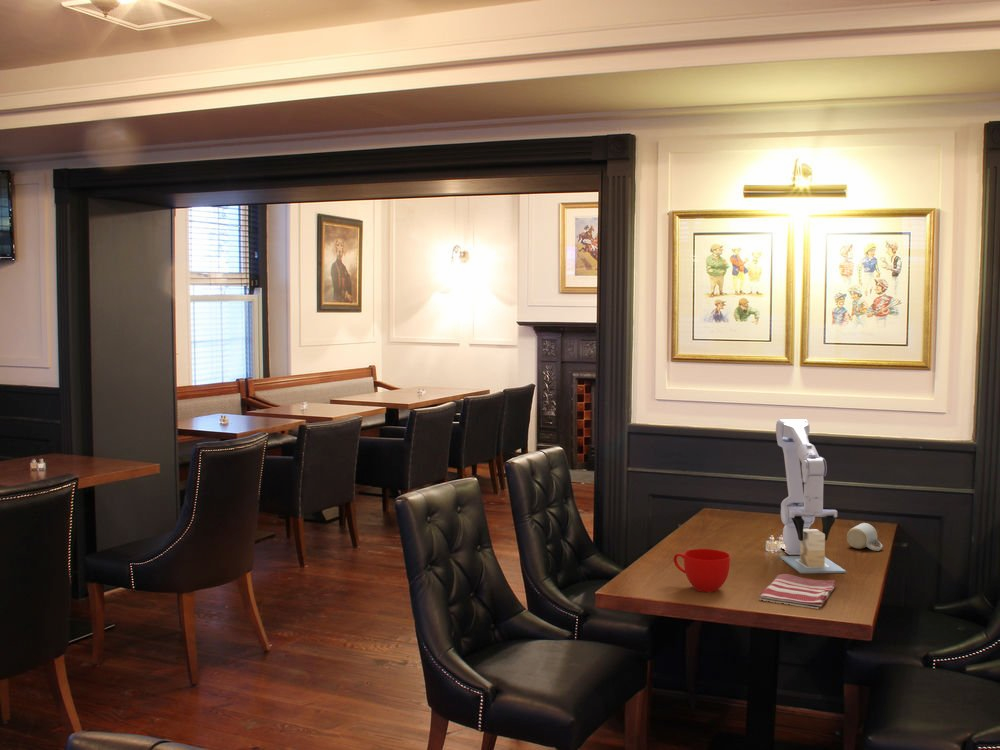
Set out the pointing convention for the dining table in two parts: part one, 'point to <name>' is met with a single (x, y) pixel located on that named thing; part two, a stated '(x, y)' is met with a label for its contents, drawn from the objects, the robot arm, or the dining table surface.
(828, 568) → the board
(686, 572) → the ceramic cup
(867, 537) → the ceramic mug
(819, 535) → the birch brick
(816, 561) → the maple brick
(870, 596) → the dining table surface
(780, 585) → the dish towel
